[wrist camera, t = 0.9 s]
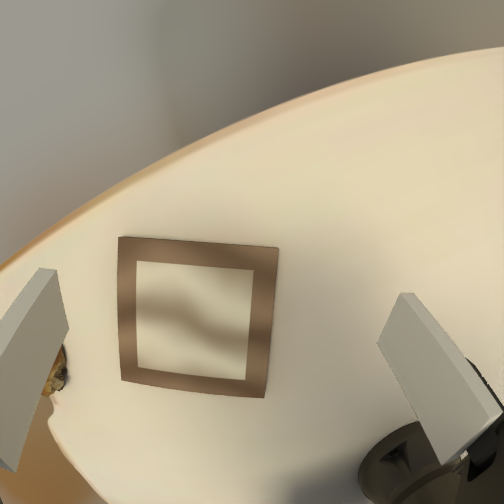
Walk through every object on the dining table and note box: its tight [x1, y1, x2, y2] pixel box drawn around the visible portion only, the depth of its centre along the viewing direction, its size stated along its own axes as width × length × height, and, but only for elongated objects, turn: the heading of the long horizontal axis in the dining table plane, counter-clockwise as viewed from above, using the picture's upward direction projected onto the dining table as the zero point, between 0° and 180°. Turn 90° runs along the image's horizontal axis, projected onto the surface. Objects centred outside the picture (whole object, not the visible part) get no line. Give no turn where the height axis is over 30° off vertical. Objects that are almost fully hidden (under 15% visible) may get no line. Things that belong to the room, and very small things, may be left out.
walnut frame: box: [117, 237, 279, 398], centre depth 31 cm, size 16×16×2 cm
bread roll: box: [41, 347, 66, 397], centre depth 31 cm, size 10×10×8 cm
